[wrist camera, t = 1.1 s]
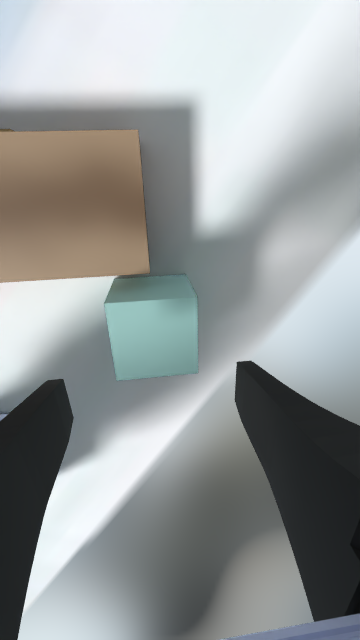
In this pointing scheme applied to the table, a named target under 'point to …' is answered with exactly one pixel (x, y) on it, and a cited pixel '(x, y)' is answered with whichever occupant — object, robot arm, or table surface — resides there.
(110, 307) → the teal cube
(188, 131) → the table surface
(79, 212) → the pencil box
